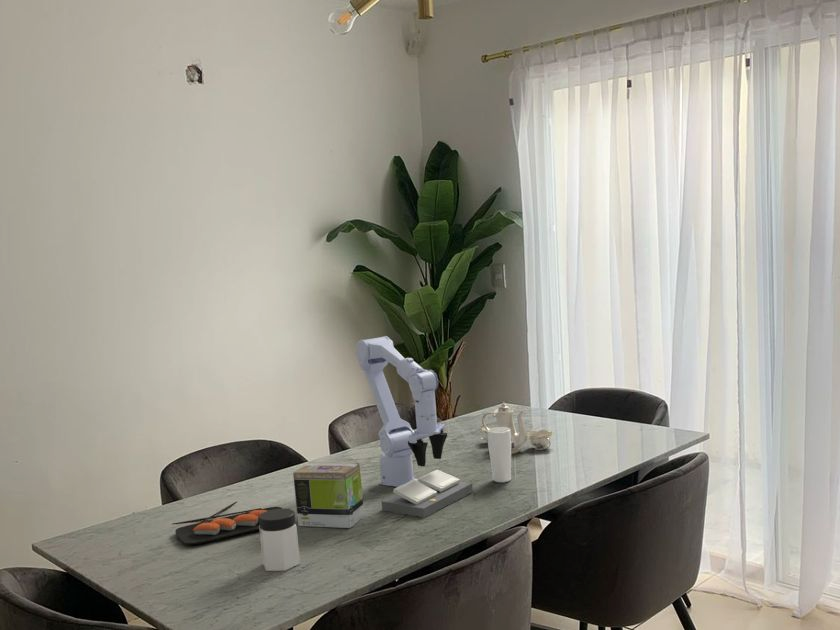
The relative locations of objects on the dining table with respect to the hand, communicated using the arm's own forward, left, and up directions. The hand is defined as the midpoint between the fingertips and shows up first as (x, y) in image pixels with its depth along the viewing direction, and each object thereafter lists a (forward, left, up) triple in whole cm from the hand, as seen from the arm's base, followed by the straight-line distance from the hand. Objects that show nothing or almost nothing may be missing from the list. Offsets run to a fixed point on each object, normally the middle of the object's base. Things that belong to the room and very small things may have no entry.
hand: (429, 462), depth 242 cm
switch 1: (+3, -11, -5) cm, 12 cm away
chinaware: (-3, +49, -10) cm, 50 cm away
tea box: (-11, -29, -9) cm, 33 cm away
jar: (-2, -56, -9) cm, 57 cm away
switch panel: (+3, -5, -9) cm, 11 cm away
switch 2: (+3, 0, -5) cm, 6 cm away
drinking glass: (+12, +19, -9) cm, 24 cm away
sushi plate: (-38, -41, -10) cm, 57 cm away
